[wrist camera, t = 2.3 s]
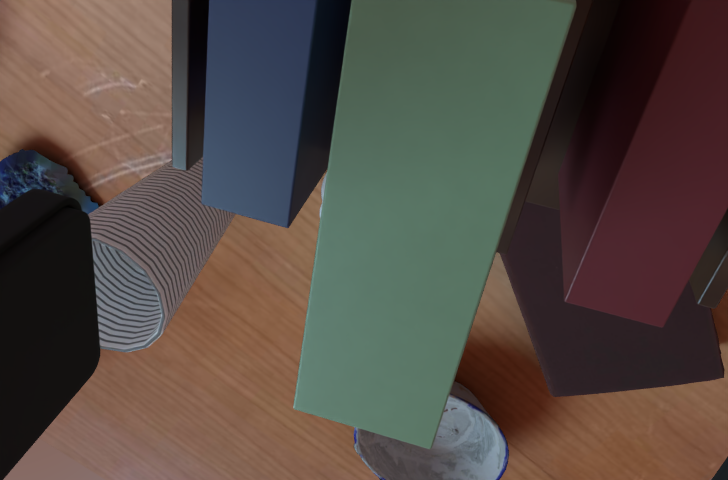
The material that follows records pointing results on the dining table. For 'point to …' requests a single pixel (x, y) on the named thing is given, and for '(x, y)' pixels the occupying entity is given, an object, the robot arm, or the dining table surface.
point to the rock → (38, 179)
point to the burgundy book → (647, 160)
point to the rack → (552, 137)
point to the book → (601, 325)
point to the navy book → (270, 103)
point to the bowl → (442, 446)
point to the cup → (150, 254)
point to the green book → (419, 199)
